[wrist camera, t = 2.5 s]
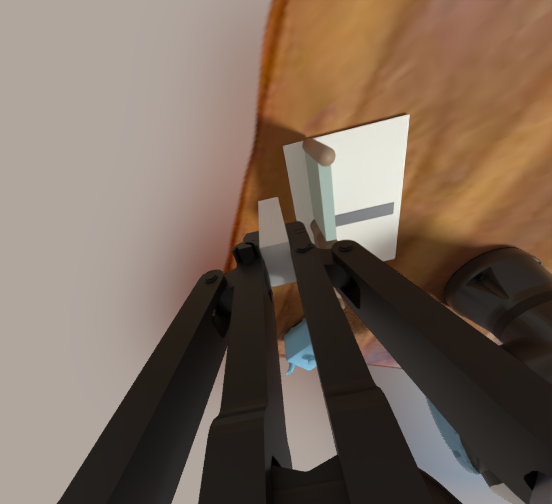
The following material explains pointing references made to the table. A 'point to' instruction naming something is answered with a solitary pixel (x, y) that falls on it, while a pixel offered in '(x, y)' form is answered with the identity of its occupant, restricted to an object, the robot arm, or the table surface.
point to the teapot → (299, 348)
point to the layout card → (358, 183)
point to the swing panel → (321, 185)
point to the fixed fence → (324, 245)
